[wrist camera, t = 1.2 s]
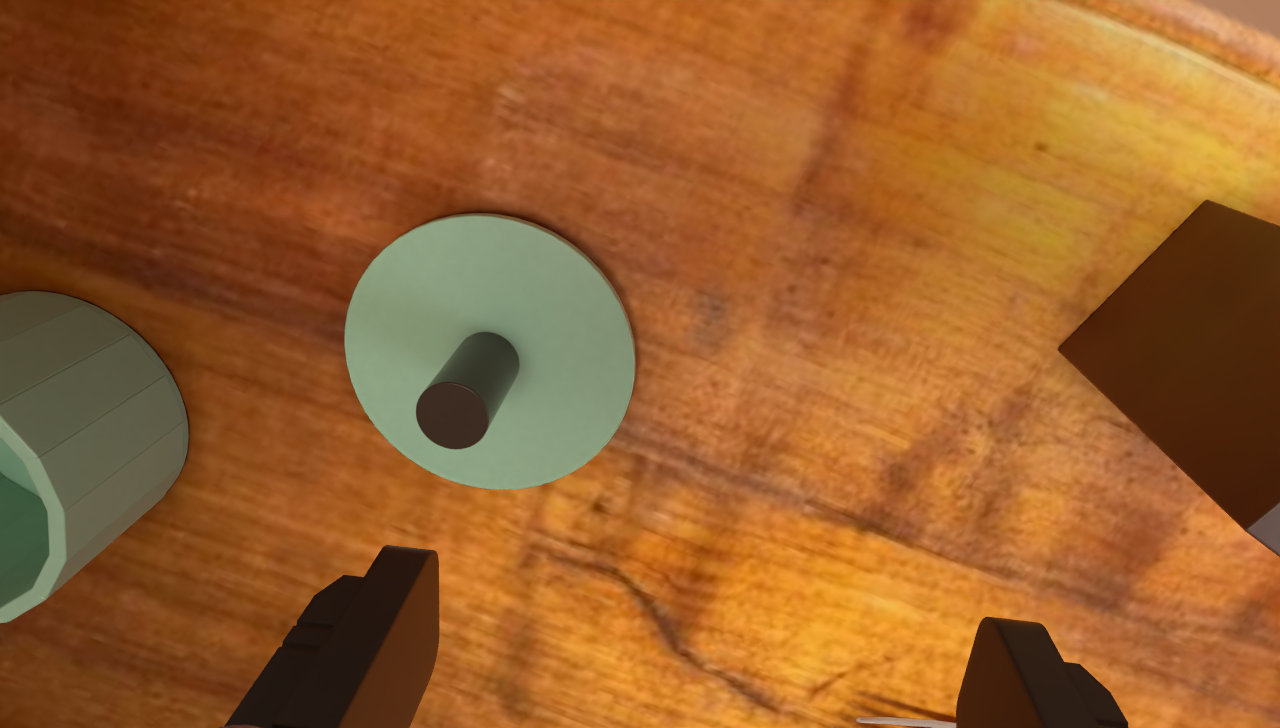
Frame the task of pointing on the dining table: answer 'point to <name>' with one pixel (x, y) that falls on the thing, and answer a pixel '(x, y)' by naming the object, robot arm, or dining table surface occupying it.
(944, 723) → the fork
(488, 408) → the tin lid
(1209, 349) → the stand
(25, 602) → the tin
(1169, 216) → the dining table surface
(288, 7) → the dining table surface
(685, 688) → the dining table surface
